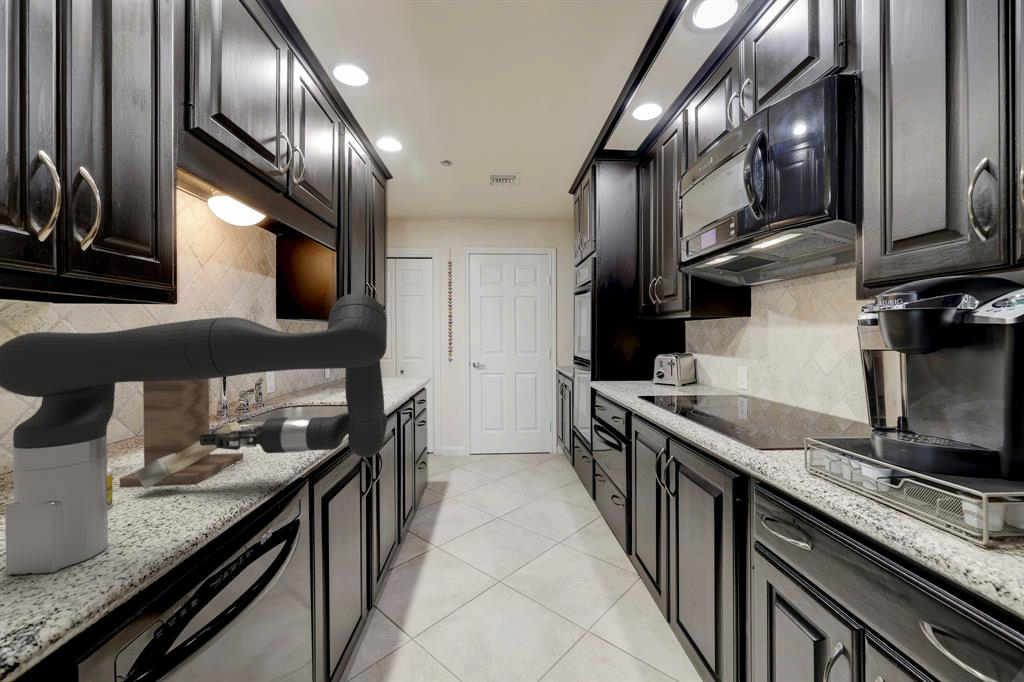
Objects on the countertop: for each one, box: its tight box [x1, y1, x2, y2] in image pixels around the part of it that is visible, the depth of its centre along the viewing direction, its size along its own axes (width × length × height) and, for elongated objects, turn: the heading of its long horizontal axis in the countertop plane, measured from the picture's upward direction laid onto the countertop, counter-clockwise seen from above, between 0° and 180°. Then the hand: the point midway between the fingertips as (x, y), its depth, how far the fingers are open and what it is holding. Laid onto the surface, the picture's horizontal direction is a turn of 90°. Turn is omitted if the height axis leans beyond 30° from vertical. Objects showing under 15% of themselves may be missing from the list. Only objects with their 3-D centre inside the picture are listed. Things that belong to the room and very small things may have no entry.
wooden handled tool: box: [135, 421, 242, 490], centre depth 86 cm, size 20×5×4 cm
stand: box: [119, 379, 244, 488], centre depth 99 cm, size 18×16×32 cm
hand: (207, 437), depth 86 cm, fingers closed on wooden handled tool, 3 cm apart
